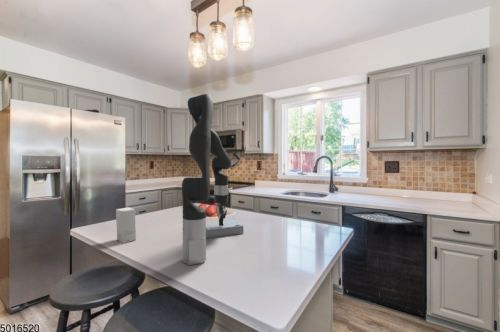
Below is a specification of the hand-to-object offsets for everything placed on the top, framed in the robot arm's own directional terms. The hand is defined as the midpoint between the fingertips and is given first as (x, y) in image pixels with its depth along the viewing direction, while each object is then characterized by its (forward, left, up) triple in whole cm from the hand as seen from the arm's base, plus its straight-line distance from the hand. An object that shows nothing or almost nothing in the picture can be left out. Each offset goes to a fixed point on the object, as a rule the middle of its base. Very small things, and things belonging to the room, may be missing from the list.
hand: (221, 225), depth 127 cm
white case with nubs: (+4, 0, -5) cm, 6 cm away
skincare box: (+10, +46, -5) cm, 47 cm away
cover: (+4, 0, -1) cm, 4 cm away
